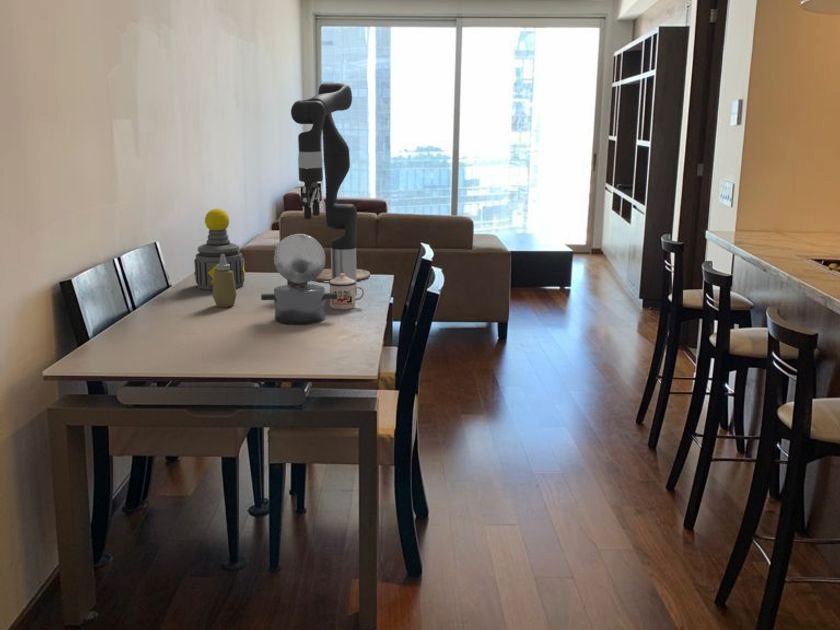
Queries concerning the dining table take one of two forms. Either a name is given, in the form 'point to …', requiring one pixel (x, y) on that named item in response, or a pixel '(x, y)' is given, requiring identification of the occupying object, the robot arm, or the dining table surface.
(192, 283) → the dining table surface
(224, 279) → the squeeze bottle
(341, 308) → the teacup with lid
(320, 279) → the trivet
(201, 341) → the dining table surface
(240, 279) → the decorative lamp
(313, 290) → the cooker pot
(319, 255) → the lid
